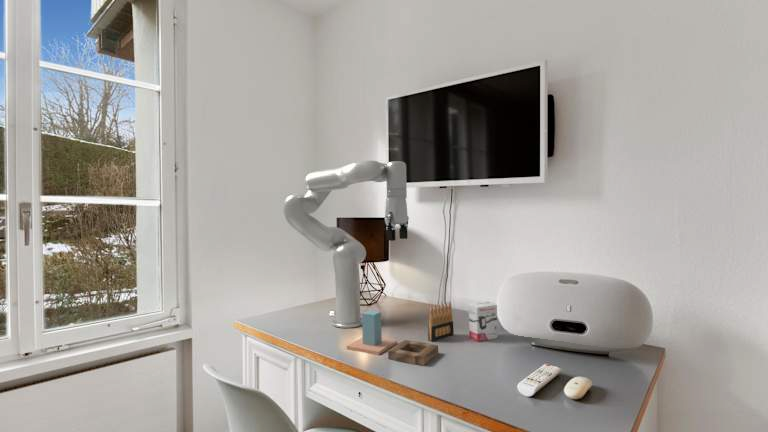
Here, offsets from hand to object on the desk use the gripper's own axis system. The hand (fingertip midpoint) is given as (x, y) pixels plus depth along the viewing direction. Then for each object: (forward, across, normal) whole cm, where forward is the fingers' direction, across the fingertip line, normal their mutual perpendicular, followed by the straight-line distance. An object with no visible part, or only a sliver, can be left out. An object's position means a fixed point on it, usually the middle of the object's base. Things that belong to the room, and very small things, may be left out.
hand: (397, 239), depth 151 cm
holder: (+33, +25, +18) cm, 45 cm away
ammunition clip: (+34, +5, +19) cm, 39 cm away
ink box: (+34, -1, +32) cm, 46 cm away
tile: (+33, +23, +2) cm, 40 cm away
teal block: (+32, +23, +2) cm, 40 cm away
